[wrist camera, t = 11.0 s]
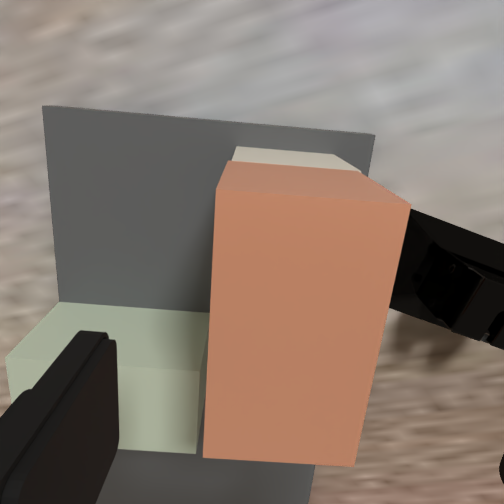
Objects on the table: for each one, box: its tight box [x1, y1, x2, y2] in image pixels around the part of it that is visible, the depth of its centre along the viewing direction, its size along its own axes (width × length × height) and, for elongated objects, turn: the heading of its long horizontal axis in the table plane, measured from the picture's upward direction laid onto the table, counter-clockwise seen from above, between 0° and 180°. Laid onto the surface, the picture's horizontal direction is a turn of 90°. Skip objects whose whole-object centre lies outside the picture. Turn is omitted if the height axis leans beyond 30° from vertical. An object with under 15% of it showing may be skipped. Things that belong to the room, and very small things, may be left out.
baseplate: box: [42, 106, 375, 504], centre depth 23 cm, size 25×15×1 cm, turn 175°
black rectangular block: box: [389, 209, 504, 350], centre depth 20 cm, size 12×7×5 cm, turn 69°
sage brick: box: [5, 302, 210, 454], centre depth 20 cm, size 8×4×5 cm, turn 85°
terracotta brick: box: [203, 160, 411, 467], centre depth 13 cm, size 8×4×5 cm, turn 175°
